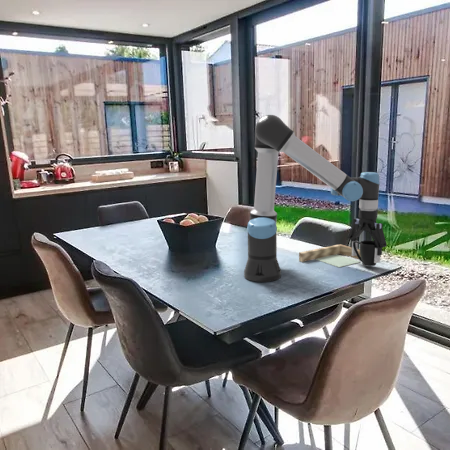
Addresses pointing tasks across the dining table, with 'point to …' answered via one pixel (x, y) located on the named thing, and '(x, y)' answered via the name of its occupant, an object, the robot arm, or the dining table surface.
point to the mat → (337, 260)
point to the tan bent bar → (326, 252)
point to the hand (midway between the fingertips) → (365, 258)
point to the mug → (366, 252)
